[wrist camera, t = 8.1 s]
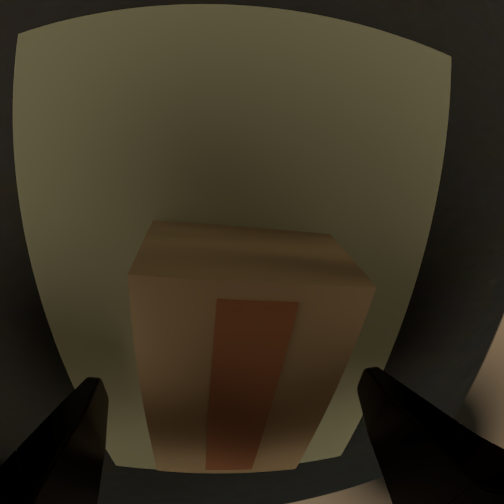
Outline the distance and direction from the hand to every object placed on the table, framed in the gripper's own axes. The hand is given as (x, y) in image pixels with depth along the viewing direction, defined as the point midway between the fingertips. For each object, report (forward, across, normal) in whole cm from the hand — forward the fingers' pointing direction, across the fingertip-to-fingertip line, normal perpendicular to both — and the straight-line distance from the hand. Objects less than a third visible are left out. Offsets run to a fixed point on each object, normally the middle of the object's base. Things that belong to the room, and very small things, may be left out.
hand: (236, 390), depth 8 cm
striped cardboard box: (+2, 0, 0) cm, 2 cm away
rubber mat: (+3, 0, 0) cm, 3 cm away
